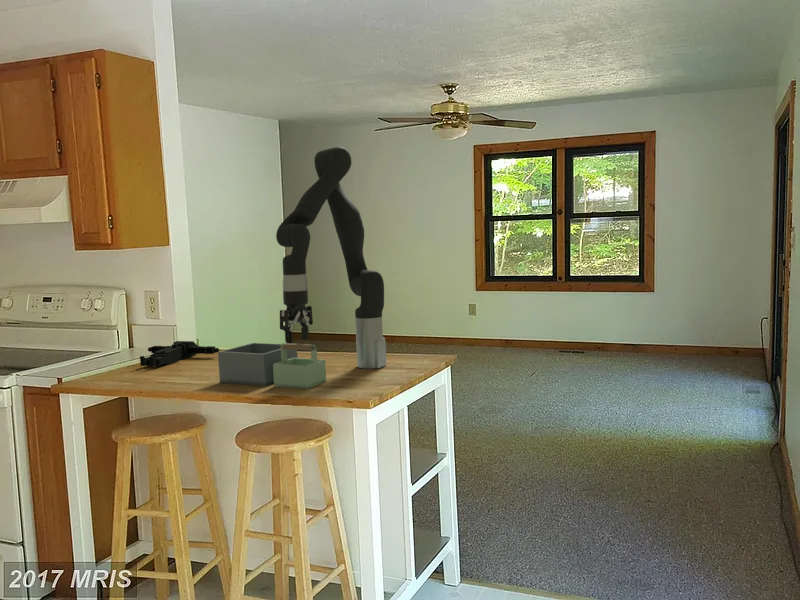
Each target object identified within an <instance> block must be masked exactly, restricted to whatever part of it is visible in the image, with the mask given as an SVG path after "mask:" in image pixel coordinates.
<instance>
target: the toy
mask: <svg viewBox="0 0 800 600" xmlns="http://www.w3.org/2000/svg"><path fill="white" fill-rule="evenodd" d="M147 351H148V352H151V354H150V355H149V356H147V357H145V356H144V355H142V356H141V355H140V356H139V362H140V366H141V367H144V366H145V367H147V366H148V367H149V366H150V367H160V366H162V365H172V364H176V363H178V361H179V360H181V359H185V360H186V359H191V358H193V356H195V355H198V354H201V355H202V354H204V355H213V354H215V353H216V354H218V352H219V351H220V349H219V347H216V346H213V345H211V346H209V345H207V346H201V345H198V344H197V343H196V342H195V341H190V340H188V341H187V340H176V341H173V344H172V343H171V345H153V346H150V347H148V348H147Z"/></svg>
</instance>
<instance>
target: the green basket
mask: <svg viewBox="0 0 800 600" xmlns="http://www.w3.org/2000/svg"><path fill="white" fill-rule="evenodd" d="M280 344H281V360H282V362H278V363H275V364H273V374H274V383H273V387H275V388H277V387H278V388H287V389H288V388H289V389H298V390H301V389H302V390H309V389H311V388H313V387H316V386H318V385H321V384H324V383H326V382H327V371H326V368H327V367H326V359H324V358H323V359H319V358H318V348H317V347H318V346H317V344H310V343H291V344H290V343H286V342H284V343H280ZM287 349H292V350H297V351H310V355H311V358H305V357H302V358H301V357H298V358H291V359H288V360H287ZM323 382H324V383H323Z"/></svg>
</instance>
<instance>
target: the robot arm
mask: <svg viewBox="0 0 800 600" xmlns="http://www.w3.org/2000/svg"><path fill="white" fill-rule="evenodd" d="M351 166H352V156H351V153H350V152H349V151H348V150H347V149H346V148H345V147H343V146H334V147H330V148H327V149H323V150H320V151H318V152H317V153H316V154H315V156H314V168H315V171H316V174H317V177H318V179H317V180H316V182H314V183H313V184H312V185H311V186H310V187H309V188H308V189H307V190H306V191H305V192H304V194H303V195H302V196H301V198H299V200H298V202H297V205H296V206H295V207H294V210H293V211H292V212H291V213H290V214H289V215H288V216H287V217H286V218H285V219H284V220H283V221H282V222H281V223H280V225H278V228H277V230H276V235H275V239H276V241H277V243H278V245H279V246H280V247H283V248H292V249H291V253H290V254H288V255H286V256H284V257H283V258H282V297H283V299H282V300H283V305H285V307H286V308H285V309H280V310H279V330H280V331H281V330H282V331H284V340H285V343H290V344H291V343H292V344H294V340H293V339H294V338H293V337H294V336H293V328H294V326H295V325H297V323H299V325H300V326H301V327H300V328H301V329H300V330H301V331H300V332H301V333H300V334H301V339H302V340H304V341H305V340H308V339H310V337H309V336H310V335H309V334H310V333H309V328H310V327H311V325H312V326H313V323H314V320H313V307H312V305H308V304H309V295H308V294H309V292H308V291H309V290H308V289H309V288H308V279H307V278H308V277H307V264H306V263H307V262H306V261H307V257H308V251H309V247H310V244H311V243H310V242H311V232H310V229H309V228H308V226H311V225H313V223H314V222H315V221H316V218H317V217H318V215H319V213H320V211H321V209H322V207H323V206H324V204H325V202H326V201H327V204H328V207H329V210H330V214H331V217H332V221H333V224H334V225H333V226H334V228H335V231H336V234H337V238H338V240H339V245H340V248H341V251H342V255H343V258H344V263H345V268H346V273H347V274H346V275H347V279H348V285H349V288H350V290H351V292H352V293H353V294H354V295H355V296H357V297H360V305H359V306H357V308H356V309H355V310H354V316H355V339H356V340H355V343H356V362H357V363H356V364H357V367H358V368H360V369H368V370H369V369H380V368H383V367H385V366H387V345H386V344H387V342H386V338H385V337H384V333H383V332H384V329H383V327H384V326H383V310H384V307H385V284H384V283H385V282H384V279H383V278H384V277H383V276H382V274H381V273H380V272H378V271H376V270H374V269H373V270H372V269H371V270H370V269H368V268H367V267H368V266H367V264H366V261H365V257H364V243H365V227H364V224H363V220H362V217H361V213H360V211H359V209H358V208H357V206H356V205H355V204H354V203H353V201H352V200H351V199H350V198H349V197H348V196H347V195H346V193H345V192H344V191H343V188H342V187H341V184H340V182H341V181H342V180H343V178H344V177H345V176H346V175H347V174H348V172H349V171H350V170H351Z"/></svg>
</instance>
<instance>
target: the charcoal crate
mask: <svg viewBox="0 0 800 600" xmlns="http://www.w3.org/2000/svg"><path fill="white" fill-rule="evenodd" d="M281 344H282V343H266V342H263V343H261V342H251V343H247V344H244V345H240V346H239V345H238V346H236V347H230V348H228V349H224V350H219V352H217V361H218V373H219V383H221V384H234V385H244V386H245V385H246V386H259V387H267V386H270V385H274V374H273V364H275V363H278V362H282V360H281ZM291 358H299V357H298V350H292V349H287V360H288V359H291Z"/></svg>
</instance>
